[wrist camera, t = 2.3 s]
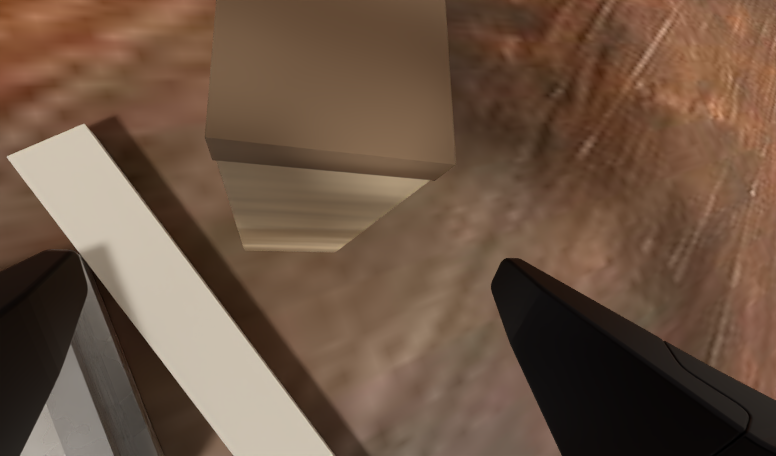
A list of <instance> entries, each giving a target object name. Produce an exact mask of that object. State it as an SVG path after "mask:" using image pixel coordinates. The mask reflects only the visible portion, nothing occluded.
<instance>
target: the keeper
mask: <svg viewBox="0 0 776 456" xmlns="http://www.w3.org/2000/svg"><path fill="white" fill-rule="evenodd" d="M78 255H79V257H80V260H81V263H82V267H83V270H84V274H85V277H86V281H87V285H88V293H87V298H86V301H85V304H84V307H83V310H82V312H81V315H80V318H79V321H78V324H77V327H76V330H75V333H74V336H73V339H72V341H71V344H70V347H69V350H68V353H67V356H66V359H65V362H64V364H63V367H62V370H61V372H60V375H59V377H58V379H57V381H56V383H55V386H54V388H53V390H52V392H51V394H50V396H49V398H48V400H47V402H46V404H45V406H44V408H43V410H42V412H41V414H40V416H39V418H38V420H37V422H36V424H35V426H34V428H33V430H32V432H31V434H30V436H29V439H28V441H27V443H26V445H25V447H24V449H23V451H22V453H21V455H20V456H164V455H163V452H162V450H161V447H160V445H159V442H158V440H157V437H156V434H155V432H154V429H153V427H152V424H151V422H150V419H149V417H148V414H147V411H146V409H145V406H144V404H143V401H142V399H141V396H140V394H139V391H138V389H137V386H136V383H135V381H134V378H133V376H132V373H131V371H130V368H129V366H128V363H127V361H126V358H125V355H124V353H123V350H122V348H121V345H120V343H119V340H118V338H117V335H116V332H115V330H114V327H113V325H112V322H111V320H110V317H109V315H108V312H107V310H106V307H105V304H104V302H103V299H102V297H101V294H100V292H99V289H98V287H97V284H96V281H95V279H94V276H93V274H92V271H91V269H90V266H89V265H88V263H87V262H86V261H85V259H84V258H83V257H82V256H81V255H80V254H78Z"/></svg>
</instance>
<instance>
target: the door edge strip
mask: <svg viewBox="0 0 776 456" xmlns="http://www.w3.org/2000/svg"><path fill="white" fill-rule="evenodd" d="M7 158H8V160H9V161H10V162H11V163H12V165H13V166H14V167H15V169H16V170H17V171H18V173H19V174H20V175H21V177H22V178H23V179H24V181H25V182H26V183H27V185H28V186H29V187H30V188H31V190H32V191H33V192H34V194H35V195H36V196H37V198H38V199H39V200H40V202H41V203H42V204H43V206H44V207H45V208H46V209H47V211H48V212H49V213H50V215H51V216H52V217H53V219H54V220H55V221H56V223H57V224H58V225H59V227H60V228H61V229H62V231H63V232H64V233H65V234H66V236H67V237H68V238H69V240H70V241H71V242H72V244H73V245H74V246H75V248H76V249H77V250H78V252H79V253H80V254H81V256H82V257H83V258H84V259H85V261H86V262H87V263H88V265H89V266H90V267H91V269H92V270H93V271H94V273H95V274H96V275H97V277H98V278H99V279H100V281H101V282H102V283H103V284H104V286H105V287H106V288H107V290H108V291H109V292H110V294H111V295H112V296H113V298H114V299H115V300H116V302H117V303H118V304H119V306H120V307H121V308H122V309H123V311H124V312H125V313H126V315H127V316H128V317H129V319H130V320H131V321H132V323H133V324H134V325H135V327H136V328H137V329H138V331H139V332H140V333H141V334H142V336H143V337H144V338H145V340H146V341H147V342H148V344H149V345H150V346H151V348H152V349H153V350H154V352H155V353H156V354H157V355H158V357H159V358H160V359H161V361H162V362H163V363H164V365H165V366H166V367H167V369H168V370H169V371H170V373H171V374H172V375H173V377H174V378H175V379H176V380H177V382H178V383H179V384H180V386H181V387H182V388H183V390H184V391H185V392H186V394H187V395H188V396H189V398H190V399H191V400H192V402H193V403H194V404H195V405H196V407H197V408H198V409H199V411H200V412H201V413H202V415H203V416H204V417H205V419H206V420H207V421H208V423H209V424H210V425H211V427H212V428H213V429H214V430H215V432H216V433H217V434H218V436H219V437H220V438H221V440H222V441H223V442H224V444H225V445H226V446H227V448H228V449H229V450H230V452H231V453H232V454H233V455H234V456H335V454H334V453H333V452H332V450H331V449H330V448H329V446H328V445H327V444H326V442H325V441H324V440H323V438H322V437H321V436H320V434H319V433H318V432H317V430H316V429H315V428H314V426H313V425H312V424H311V422H310V421H309V420H308V418H307V417H306V416H305V414H304V413H303V412H302V410H301V409H300V408H299V406H298V405H297V404H296V402H295V401H294V400H293V398H292V397H291V396H290V394H289V393H288V392H287V390H286V389H285V388H284V386H283V385H282V384H281V382H280V381H279V380H278V378H277V377H276V376H275V374H274V373H273V372H272V370H271V369H270V368H269V366H268V365H267V364H266V362H265V361H264V360H263V358H262V357H261V356H260V354H259V353H258V352H257V350H256V349H255V348H254V346H253V345H252V344H251V342H250V341H249V340H248V338H247V337H246V336H245V334H244V333H243V332H242V330H241V329H240V328H239V326H238V325H237V324H236V322H235V321H234V320H233V318H232V317H231V316H230V314H229V313H228V312H227V310H226V309H225V308H224V306H223V305H222V304H221V302H220V301H219V300H218V298H217V297H216V296H215V294H214V293H213V292H212V290H211V289H210V288H209V286H208V285H207V284H206V282H205V281H204V280H203V278H202V277H201V276H200V274H199V273H198V272H197V270H196V269H195V268H194V266H193V265H192V264H191V262H190V261H189V260H188V258H187V257H186V256H185V254H184V253H183V252H182V250H181V249H180V248H179V246H178V245H177V244H176V242H175V241H174V240H173V238H172V237H171V236H170V234H169V233H168V232H167V230H166V229H165V228H164V226H163V225H162V224H161V222H160V221H159V220H158V218H157V217H156V216H155V214H154V213H153V212H152V210H151V209H150V208H149V206H148V205H147V204H146V202H145V201H144V200H143V198H142V197H141V196H140V194H139V193H138V192H137V190H136V189H135V188H134V186H133V185H132V184H131V182H130V181H129V180H128V178H127V177H126V176H125V174H124V173H123V172H122V171H121V169H120V168H119V167H118V165H117V164H116V163H115V161H114V160H113V159H112V157H111V156H110V155H109V153H108V152H107V151H106V149H105V148H104V147H103V145H102V144H101V143H100V141H99V140H98V139H97V137H96V136H95V135H94V133H93V132H92V131H91V130H90V129H89V128H88V127H87V126H86V125H85V124H82V125H80V126H77V127H75V128H73V129H70V130H68V131H66V132H63V133H61V134H59V135H56V136H54V137H52V138H49V139H47V140H45V141H42V142H40V143H37V144H35V145H33V146H30V147H28V148H26V149H23V150H21V151H19V152H16V153H14V154H12V155H9V156H7Z"/></svg>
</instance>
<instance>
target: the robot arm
mask: <svg viewBox="0 0 776 456" xmlns="http://www.w3.org/2000/svg"><path fill="white" fill-rule="evenodd" d="M491 290H492V294H493V297H494V300H495V302H496V305H497V308H498V311H499V314H500V317H501V320H502V322H503V325H504V328H505V331H506V334H507V337H508V339H509V342H510V344H511V347H512V349H513V351H514V353H515V356H516V358H517V360H518V362H519V364H520V366H521V369H522V371H523V373H524V375H525V377H526V379H527V382H528V384H529V386H530V388H531V390H532V392H533V394H534V397H535V399H536V401H537V403H538V405H539V407H540V410H541V412H542V414H543V416H544V418H545V420H546V422H547V425H548V427H549V429H550V431H551V433H552V435H553V438H554V440H555V442H556V444H557V446H558V448H559V451H560V453H561V455H562V456H776V400H774V399H772V398H770V397H768V396H766V395H764V394H762V393H760V392H758V391H757V390H755V389H753V388H751V387H749V386H747V385H745V384H743V383H741V382H739V381H737V380H735V379H734V378H732V377H730V376H728V375H726V374H724V373H722V372H720V371H718V370H717V369H715V368H713V367H711V366H709V365H707V364H705V363H704V362H702V361H700V360H698V359H696V358H695V357H693V356H691V355H689V354H687V353H686V352H684V351H682V350H680V349H678V348H677V347H675V346H673V345H671V344H670V343H668V342H666V341H663V340H662V339H661V338H659V337H657V336H655V335H654V334H652V333H650V332H648V331H647V330H645V329H643V328H641V327H640V326H638V325H636V324H634V323H633V322H631V321H629V320H627V319H625V318H624V317H622V316H620V315H618V314H617V313H615V312H613V311H611V310H610V309H608V308H606V307H604V306H603V305H601V304H599V303H597V302H596V301H594V300H592V299H590V298H589V297H587V296H585V295H583V294H581V293H580V292H578V291H576V290H574V289H573V288H571V287H569V286H567V285H566V284H564V283H562V282H560V281H559V280H557V279H555V278H553V277H552V276H550V275H548V274H546V273H544V272H543V271H541V270H539V269H537V268H536V267H534V266H532V265H530V264H529V263H527V262H525V261H523V260H522V259H519V258H506V259H504V260H503V261H502V262H501V263H500V265H499V268H498V270H497V272H496V274H495V276H494V278H493V280H492V283H491ZM87 293H88V285H87V281H86V277H85V274H84V270H83V267H82V263H81V260H80V257H79V255H78V253H77V252H75V251H73V250H45V251H42V252H40V253H38V254H36V255H34V256H32V257H30V258H28V259H26V260H24V261H22V262H20V263H18V264H16V265H13V266H11V267H9V268H7V269H5V270H3V271H1V272H0V456H20V455H21V453H22V451H23V449H24V447H25V445H26V443H27V441H28V439H29V436H30V434H31V432H32V430H33V428H34V426H35V424H36V422H37V420H38V418H39V416H40V414H41V412H42V410H43V408H44V406H45V404H46V402H47V400H48V398H49V396H50V394H51V392H52V390H53V388H54V386H55V383H56V381H57V379H58V377H59V375H60V372H61V370H62V367H63V364H64V362H65V359H66V356H67V353H68V350H69V347H70V344H71V341H72V339H73V336H74V333H75V330H76V327H77V324H78V321H79V318H80V315H81V312H82V310H83V307H84V304H85V301H86V298H87Z"/></svg>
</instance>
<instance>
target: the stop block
mask: <svg viewBox="0 0 776 456" xmlns="http://www.w3.org/2000/svg"><path fill="white" fill-rule="evenodd" d="M205 139H206V142H207V145H208V148H209V151H210V154H211V157H212V160H216V161H217V164H218V167H219V170H220V174H221V177H222V180H223V183H224V187H225V190H226V193H227V196H228V199H229V203H230V206H231V209H232V212H233V215H234V219H235V222H236V225H237V228H238V232H239V235H240V238H241V241H242V244H243V248H244V250H251V251H296V252H336V251H338V250H339V249H340V248H342V247H343V246H344V245H345V244H347V243H348V242H349V241H351V240H352V239H353V238H355V237H356V236H357V235H359V234H360V233H361V232H363V231H364V230H365V229H367V228H368V227H369V226H370V225H372V224H373V223H374V222H376V221H377V220H378V219H380V218H381V217H382V216H384V215H385V214H386V213H388V212H389V211H390V210H392V209H393V208H394V207H396V206H397V205H398V204H399V203H401V202H402V201H403V200H405V199H406V198H407V197H409V196H410V195H411V194H413V193H414V192H415V191H417V190H418V189H419V188H421V187H422V186H423V185H424V184H426V183H427V182H428V181H430V180H433V181H435V180H436V179H438V178H439V177H440V176H442V175H443V174H444V173H446V172H447V171H448V170H450V169H451V168H452V167H454V166H455V165H456V154H455V139H454V124H453V109H452V94H451V79H450V63H449V48H448V33H447V18H446V3H445V0H216V10H215V22H214V33H213V45H212V57H211V69H210V81H209V93H208V105H207V116H206V128H205Z"/></svg>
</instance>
